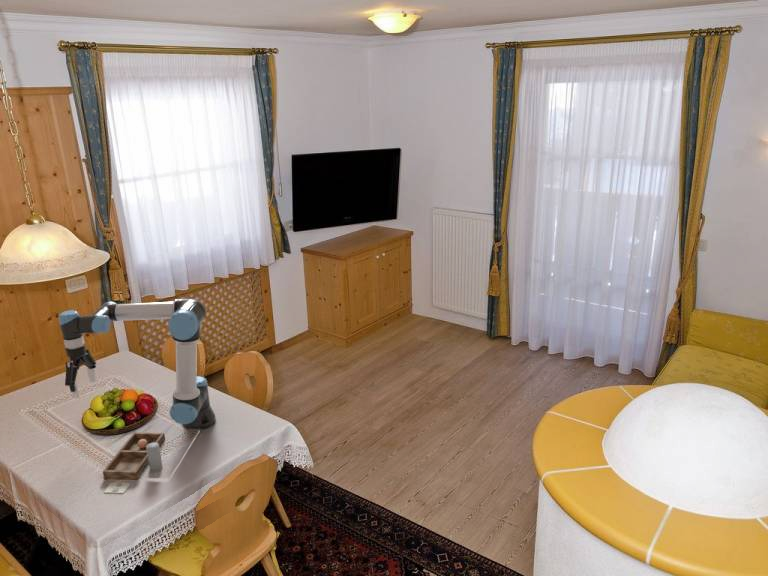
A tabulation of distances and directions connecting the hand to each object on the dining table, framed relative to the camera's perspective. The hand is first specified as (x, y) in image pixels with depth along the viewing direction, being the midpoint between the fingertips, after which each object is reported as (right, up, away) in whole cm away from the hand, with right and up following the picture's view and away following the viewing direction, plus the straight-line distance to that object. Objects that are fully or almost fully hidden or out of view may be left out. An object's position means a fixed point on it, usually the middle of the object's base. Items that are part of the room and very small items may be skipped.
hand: (84, 389), depth 257 cm
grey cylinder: (+37, -32, -12) cm, 50 cm away
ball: (+25, -26, +1) cm, 36 cm away
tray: (+25, -29, -5) cm, 39 cm away
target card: (+25, -36, -23) cm, 49 cm away
